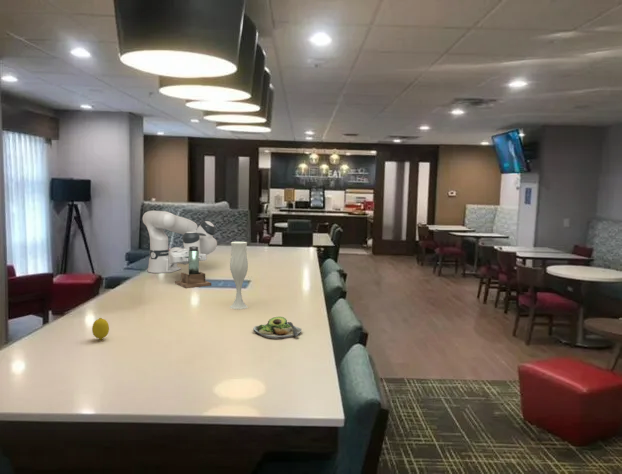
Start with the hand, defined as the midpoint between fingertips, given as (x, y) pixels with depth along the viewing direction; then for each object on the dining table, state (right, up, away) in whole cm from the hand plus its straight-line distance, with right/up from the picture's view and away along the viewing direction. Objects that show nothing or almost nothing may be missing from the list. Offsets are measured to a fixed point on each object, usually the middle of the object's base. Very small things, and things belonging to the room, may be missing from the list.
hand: (194, 259), depth 282 cm
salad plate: (+52, -25, -87) cm, 104 cm away
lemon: (-10, -24, -101) cm, 104 cm away
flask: (-1, -9, +2) cm, 9 cm away
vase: (+32, -20, -48) cm, 61 cm away
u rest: (-1, -14, +2) cm, 14 cm away
